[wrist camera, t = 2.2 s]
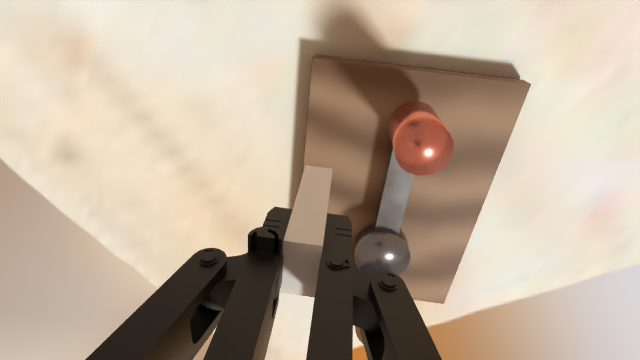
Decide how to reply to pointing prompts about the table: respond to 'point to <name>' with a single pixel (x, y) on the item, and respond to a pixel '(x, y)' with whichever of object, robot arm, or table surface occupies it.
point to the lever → (402, 185)
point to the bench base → (427, 190)
